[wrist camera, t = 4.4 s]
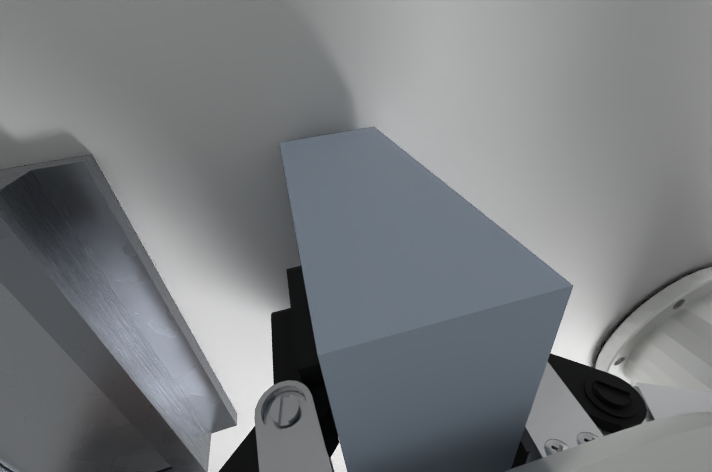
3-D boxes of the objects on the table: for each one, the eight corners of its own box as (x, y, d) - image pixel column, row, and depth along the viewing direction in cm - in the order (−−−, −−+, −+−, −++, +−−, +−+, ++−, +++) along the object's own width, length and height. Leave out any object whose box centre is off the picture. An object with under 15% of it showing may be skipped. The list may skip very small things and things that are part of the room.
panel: (373, 126, 10) (572, 285, 4) (388, 337, 16) (481, 555, 9) (279, 142, 10) (317, 355, 3) (327, 354, 15) (379, 595, 9)
